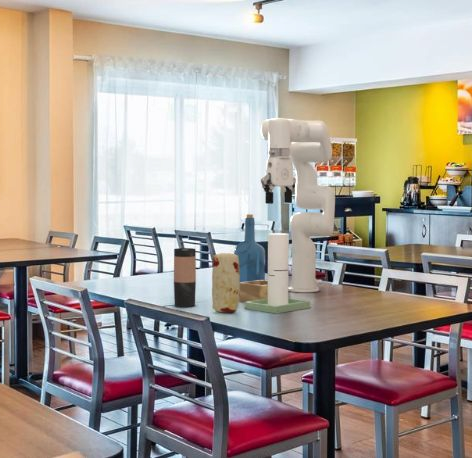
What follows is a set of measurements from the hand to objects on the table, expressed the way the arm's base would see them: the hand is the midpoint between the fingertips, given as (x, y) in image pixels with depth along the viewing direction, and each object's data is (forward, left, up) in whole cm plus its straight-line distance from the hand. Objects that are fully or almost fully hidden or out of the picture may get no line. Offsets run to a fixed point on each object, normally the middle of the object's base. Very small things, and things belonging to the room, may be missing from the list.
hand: (278, 203), depth 273 cm
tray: (+3, +3, -36) cm, 37 cm away
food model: (+22, -3, -37) cm, 43 cm away
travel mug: (+23, -23, -37) cm, 49 cm away
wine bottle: (-31, -45, -37) cm, 66 cm away
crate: (-3, -11, -36) cm, 38 cm away
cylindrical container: (+3, +2, -36) cm, 36 cm away
